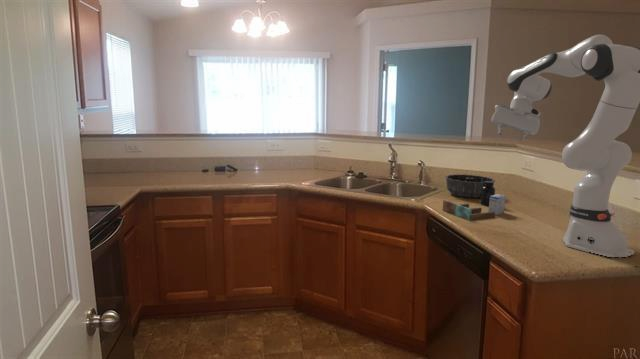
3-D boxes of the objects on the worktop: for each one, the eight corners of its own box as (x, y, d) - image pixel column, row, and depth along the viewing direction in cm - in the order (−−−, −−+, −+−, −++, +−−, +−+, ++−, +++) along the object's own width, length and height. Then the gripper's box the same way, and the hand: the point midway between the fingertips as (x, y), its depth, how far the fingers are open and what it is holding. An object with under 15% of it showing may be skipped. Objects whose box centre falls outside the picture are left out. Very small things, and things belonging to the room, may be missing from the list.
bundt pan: (457, 188, 260) (458, 172, 259) (500, 195, 242) (502, 178, 241) (435, 194, 242) (437, 177, 240) (481, 202, 224) (482, 184, 222)
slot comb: (494, 216, 196) (495, 206, 195) (468, 220, 190) (469, 209, 189) (467, 207, 212) (468, 198, 211) (442, 210, 206) (443, 200, 205)
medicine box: (495, 211, 207) (496, 193, 205) (504, 212, 204) (506, 195, 202) (487, 213, 201) (489, 195, 200) (497, 215, 198) (499, 197, 197)
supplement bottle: (496, 204, 220) (498, 181, 217) (490, 206, 215) (493, 183, 213) (483, 202, 224) (485, 180, 222) (477, 204, 219) (479, 181, 217)
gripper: (498, 100, 192) (488, 128, 190) (544, 113, 188) (535, 142, 186) (494, 105, 198) (485, 132, 197) (539, 118, 194) (530, 146, 193)
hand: (510, 137), depth 191 cm, fingers open, 8 cm apart
